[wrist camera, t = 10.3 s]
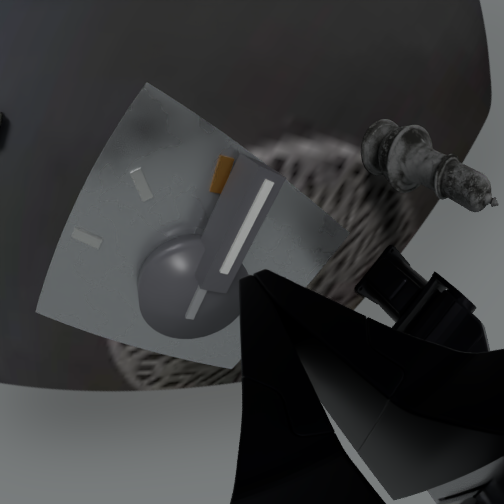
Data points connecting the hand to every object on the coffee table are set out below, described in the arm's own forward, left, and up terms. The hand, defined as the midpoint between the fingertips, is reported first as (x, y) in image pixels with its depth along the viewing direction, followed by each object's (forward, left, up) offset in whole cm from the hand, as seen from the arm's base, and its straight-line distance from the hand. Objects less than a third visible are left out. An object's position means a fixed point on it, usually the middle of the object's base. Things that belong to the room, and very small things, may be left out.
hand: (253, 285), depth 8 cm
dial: (-4, +4, -11) cm, 13 cm away
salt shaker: (-13, -11, -13) cm, 21 cm away
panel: (-5, +6, -12) cm, 15 cm away
